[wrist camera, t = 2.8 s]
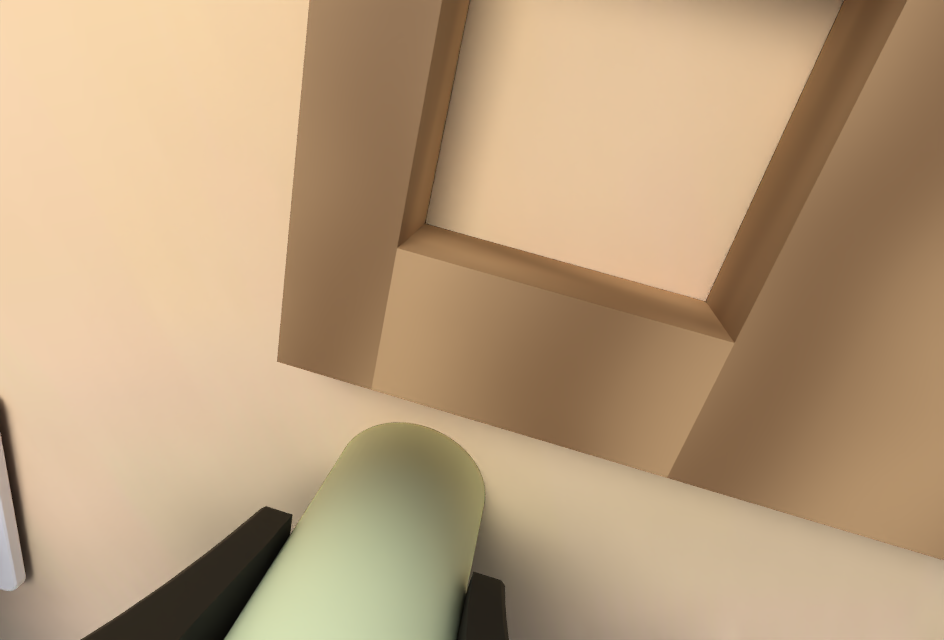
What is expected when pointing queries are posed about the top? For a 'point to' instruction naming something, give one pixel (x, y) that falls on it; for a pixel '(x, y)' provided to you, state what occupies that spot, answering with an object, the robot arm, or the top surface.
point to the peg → (376, 546)
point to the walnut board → (641, 306)
